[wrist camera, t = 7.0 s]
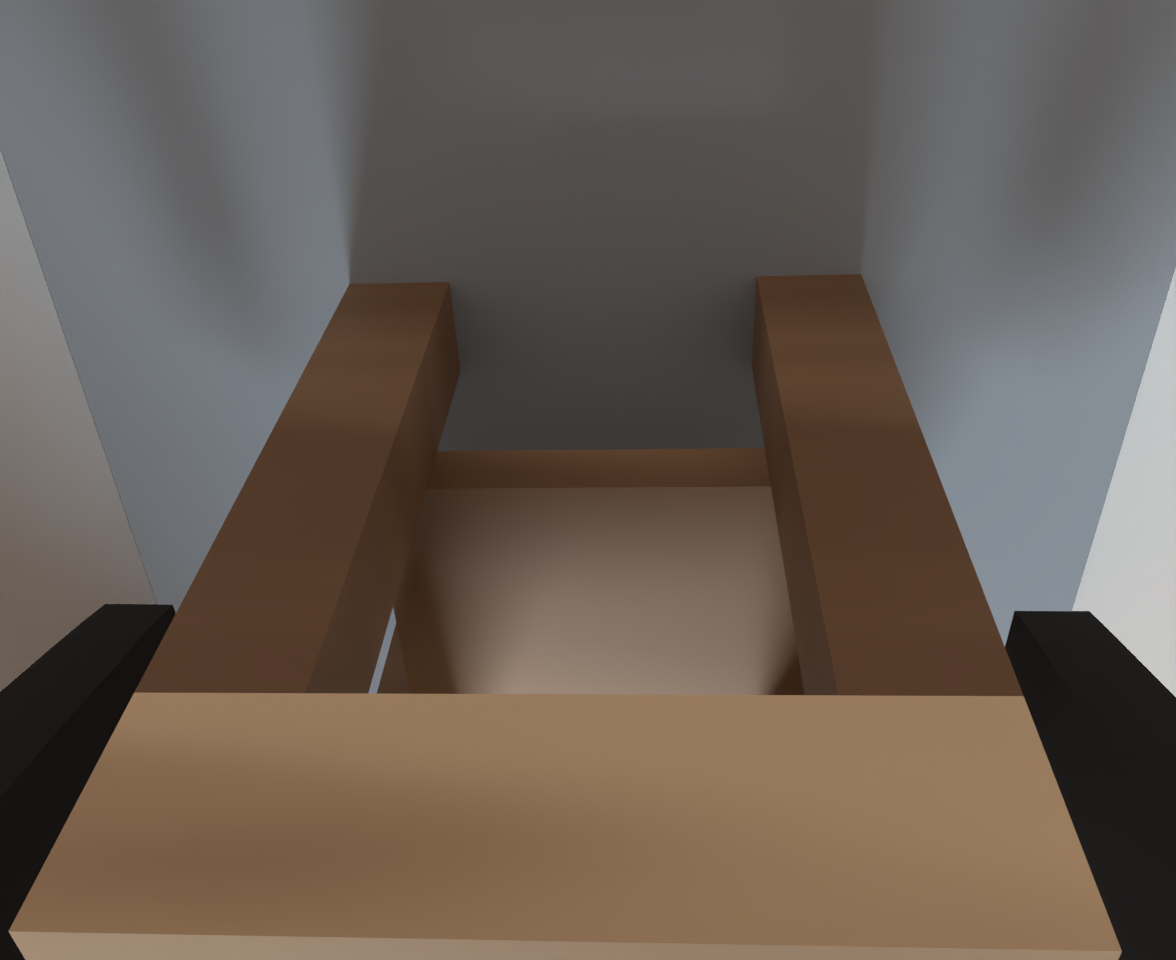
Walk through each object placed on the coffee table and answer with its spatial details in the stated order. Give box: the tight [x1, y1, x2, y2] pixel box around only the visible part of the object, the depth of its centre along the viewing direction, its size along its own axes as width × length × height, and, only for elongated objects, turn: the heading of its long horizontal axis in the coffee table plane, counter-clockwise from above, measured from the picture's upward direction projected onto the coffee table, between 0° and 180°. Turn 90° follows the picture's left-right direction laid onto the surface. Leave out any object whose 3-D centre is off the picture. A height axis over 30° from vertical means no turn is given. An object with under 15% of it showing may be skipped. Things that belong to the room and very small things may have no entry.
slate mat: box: [0, 0, 1176, 694], centre depth 12 cm, size 14×11×1 cm
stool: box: [8, 274, 1122, 960], centre depth 9 cm, size 5×5×7 cm
